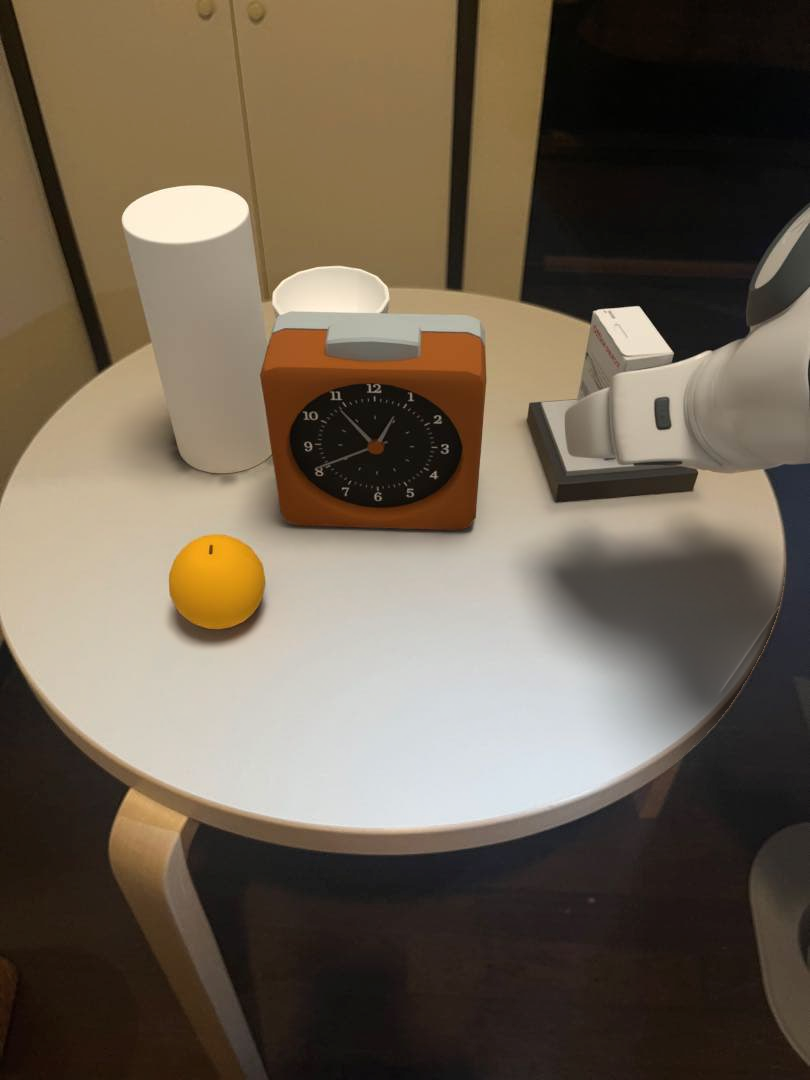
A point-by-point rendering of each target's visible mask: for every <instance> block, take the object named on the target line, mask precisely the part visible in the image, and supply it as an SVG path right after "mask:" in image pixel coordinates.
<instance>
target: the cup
mask: <svg viewBox="0 0 810 1080" xmlns="http://www.w3.org/2000/svg"><path fill="white" fill-rule="evenodd" d="M271 295H272V297H271V301H272V302H271V306H272V310H273V312H274V315H275V320H276V319H277V317H278V316H280V315H282V314H285V313H288V312H290V311H296V312H344V313H389V308H390V300H391V298H390V292H389V287H388V285H386V284H385V283H384V282H383V280H382V279H381V278H380V277H379V276H378V275H375V274H373V273H371V272H369V271H366V270H364V269H361V268H355V267H349V266H344V265H330V266H329V265H328V266H316V267H312V268H309V269H305V270H300V271H297V272H295V273H293V274H291V275H290V276H288V277H286V278H285V279H283V280H282V281H281V282H280V283H279V284H278V285H277V287H276V288H275V289H274V290H273V292H272V294H271Z"/></svg>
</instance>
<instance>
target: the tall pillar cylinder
mask: <svg viewBox="0 0 810 1080" xmlns="http://www.w3.org/2000/svg"><path fill="white" fill-rule="evenodd" d="M121 225H122V226H121V227H122V230H123V233H124V238H125V242H126V245H127V250H128V254H129V257H130V263H131V266H132V269H133V274H134V277H135V282H136V286H137V290H138V294H139V297H140V303H141V305H142V309H143V314H144V318H145V321H146V325H147V330H148V333H149V338H150V341H151V346H152V351H153V354H154V358H155V361H156V362H155V363H156V366H157V369H158V375H159V377H160V382H161V386H162V390H163V393H164V398H165V402H166V407H167V410H168V414H169V417H170V418H169V419H170V421H171V426H172V430H173V433H174V437H175V441H176V445H177V449H178V453H179V455H180V457H181V458H182V460H184V462H185V463H187V464H188V465H189V466H191V467H193V468H194V469H197V470H199V471H202V472H206V473H209V474H210V473H212V474H233V473H238V472H243V471H246V470H250V469H252V468H254V467H257V466H259V465H260V464H262V463H264V462H265V461H266V460H268V459H269V458H270V457H272V451H271V445H270V438H269V431H268V424H267V417H266V410H265V403H264V397H263V391H262V385H261V378H260V373H261V369H262V366H263V362H264V358H265V355H266V351H267V347H268V344H269V343H268V337H267V329H266V323H265V316H264V315H265V314H264V308H263V302H262V301H263V300H262V294H261V286H260V279H259V272H258V264H257V258H256V250H255V243H254V234H253V228H252V220H251V213H250V207H249V204H248V202H247V201H246V199H245V198H244V197H242V196H241V195H240V194H238V193H236V192H234V191H232V190H229V189H226V188H223V187H219V186H211V185H202V184H201V185H199V184H198V185H195V184H193V185H192V184H191V185H180V186H173V187H167V188H162V189H158V190H156V191H152V192H150V193H147V194H145V195H143V196H141V197H139V198H137V199H135V200H134V201H133V202H131V203H130V204H129V205H128V206H127V207H126V208H125V210H124V211H123V213H122V215H121Z"/></svg>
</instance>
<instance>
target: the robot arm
mask: <svg viewBox="0 0 810 1080" xmlns="http://www.w3.org/2000/svg"><path fill="white" fill-rule="evenodd" d="M745 319H746V321H745V322H746V326H747V327H749V332H748V334H746V336H745V337H743V338H739V339H736V340H733V341H731V342H729V343H727V344H725V345H723V346H721V347H719V348H717V349H714V350H711V349H710V350H705V351H703V352H700V353H698V354H696V355H694V356H692V357H689V358H686V359H683V360H680V361H677V362H672V363H668V364H664V365H659V366H654V367H648V368H642V369H636V370H632V371H628V372H622V373H619V374H616V375H614V376H613V377H612V378H611V379H610V387H609V388H605V389H602V390H599V391H596V392H594V393H592V394H590V395H588V396H586V397H584V398H583V399H581V400H579V401H578V402H576V403H575V404H573V405H572V406H571V407H569V408H568V410H567V411H566V413H565V437H566V445H567V450H568V453H569V454H570V455H571V456H573V457H580V458H616V461H617V463H618V464H620V465H634V466H639V465H667V466H673V465H677V466H683V467H688V468H693V469H697V470H699V471H710V472H713V473H718V474H725V475H726V474H739V473H746V472H752V471H753V472H754V471H760V470H761V471H762V470H768V469H774V468H777V467H780V466H783V465H805V464H810V202H809V203H807V204H806V205H804V206H803V208H801V209H800V210H799V211H798V212H797V213H796V214H795V215H794V216H793V217H792V218H790V220H789V221H788V222H787V223H786V224H785V226H784V227H782V229H781V230H780V231H779V232H778V234H777V235H776V236H775V238H774V239H773V241H771V243H770V244H769V246H768V248H767V249H766V250H765V252H764V254H763V255H762V257H761V259H760V260H759V262H758V264H757V266H756V268H755V271H754V272H753V275H752V277H751V280H750V283H749V287H748V294H747V301H746V307H745Z"/></svg>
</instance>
